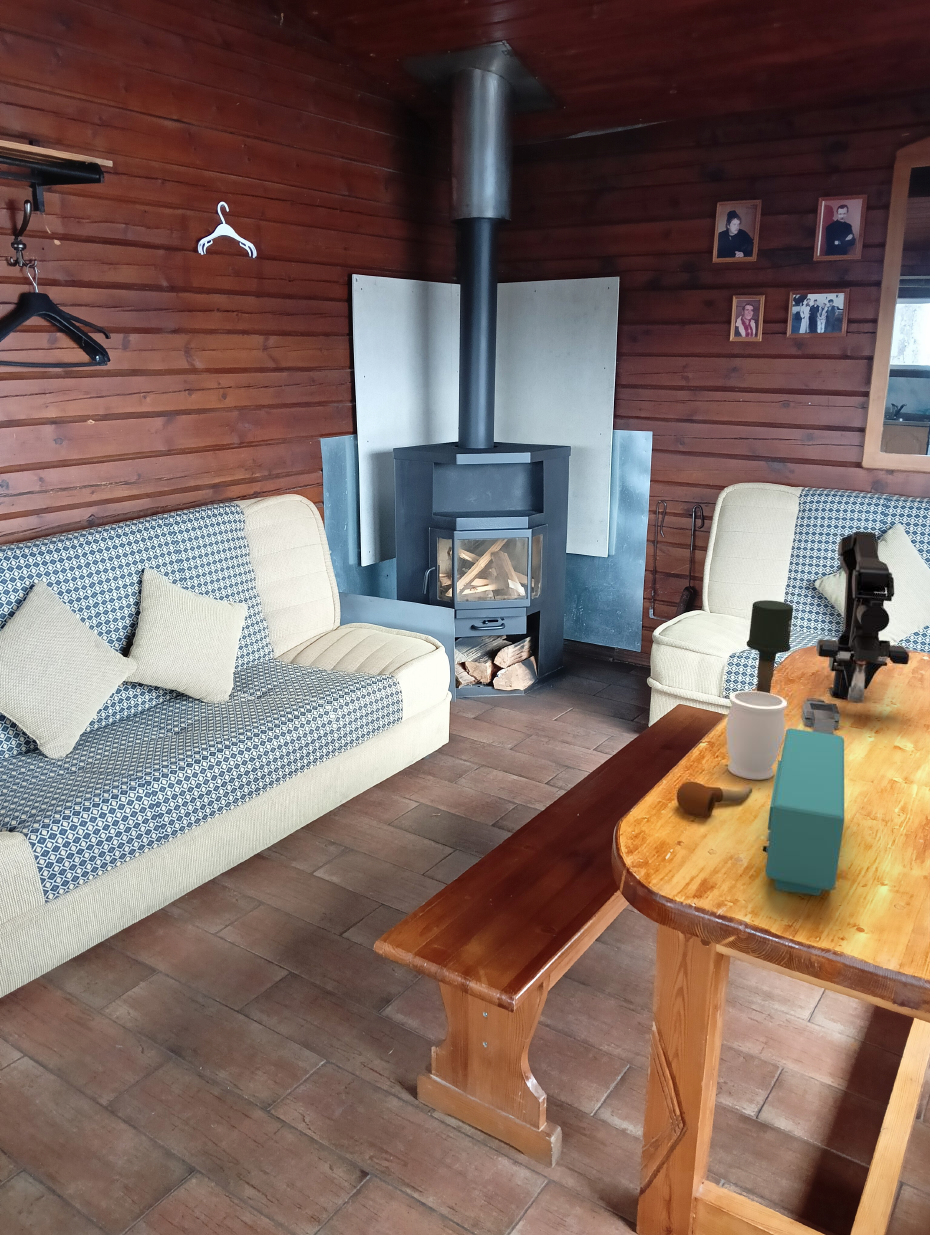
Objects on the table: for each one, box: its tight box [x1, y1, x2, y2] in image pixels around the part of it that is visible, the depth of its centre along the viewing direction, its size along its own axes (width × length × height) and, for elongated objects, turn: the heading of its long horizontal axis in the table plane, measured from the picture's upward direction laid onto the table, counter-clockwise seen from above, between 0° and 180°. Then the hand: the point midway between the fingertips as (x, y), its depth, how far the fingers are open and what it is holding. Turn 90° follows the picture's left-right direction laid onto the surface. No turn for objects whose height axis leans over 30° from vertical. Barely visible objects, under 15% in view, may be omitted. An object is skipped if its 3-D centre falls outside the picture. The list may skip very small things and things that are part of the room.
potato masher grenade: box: [746, 599, 794, 694], centre depth 193 cm, size 8×9×30 cm
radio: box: [762, 728, 845, 896], centre depth 150 cm, size 34×10×15 cm, turn 159°
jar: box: [725, 690, 788, 781], centre depth 180 cm, size 11×10×15 cm
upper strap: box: [802, 700, 841, 735], centre depth 208 cm, size 11×7×4 cm, turn 165°
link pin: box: [847, 657, 868, 704], centre depth 213 cm, size 3×3×10 cm
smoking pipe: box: [676, 781, 753, 819], centre depth 168 cm, size 7×18×6 cm, turn 133°
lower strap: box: [801, 697, 840, 731], centre depth 214 cm, size 16×7×2 cm, turn 165°
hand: (856, 687), depth 213 cm, fingers closed on link pin, 3 cm apart
